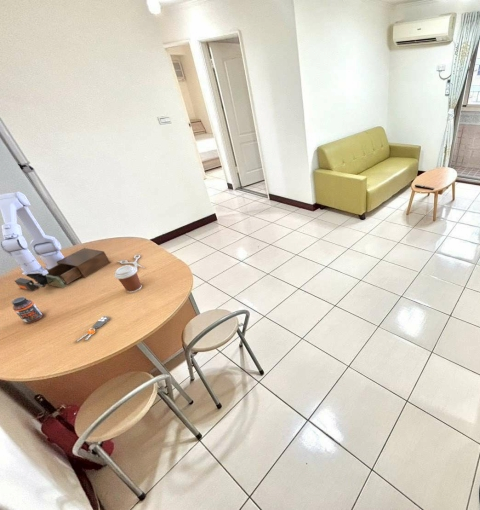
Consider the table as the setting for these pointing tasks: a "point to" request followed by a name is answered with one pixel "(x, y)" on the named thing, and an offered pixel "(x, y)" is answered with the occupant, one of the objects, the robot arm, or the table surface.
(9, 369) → the table surface
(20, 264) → the robot arm
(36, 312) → the supplement bottle
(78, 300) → the table surface
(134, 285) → the coffee cup
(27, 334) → the table surface
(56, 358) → the table surface
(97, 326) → the key chain
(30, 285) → the black block with tab
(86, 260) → the cabinet
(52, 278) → the drawer
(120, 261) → the scissors
